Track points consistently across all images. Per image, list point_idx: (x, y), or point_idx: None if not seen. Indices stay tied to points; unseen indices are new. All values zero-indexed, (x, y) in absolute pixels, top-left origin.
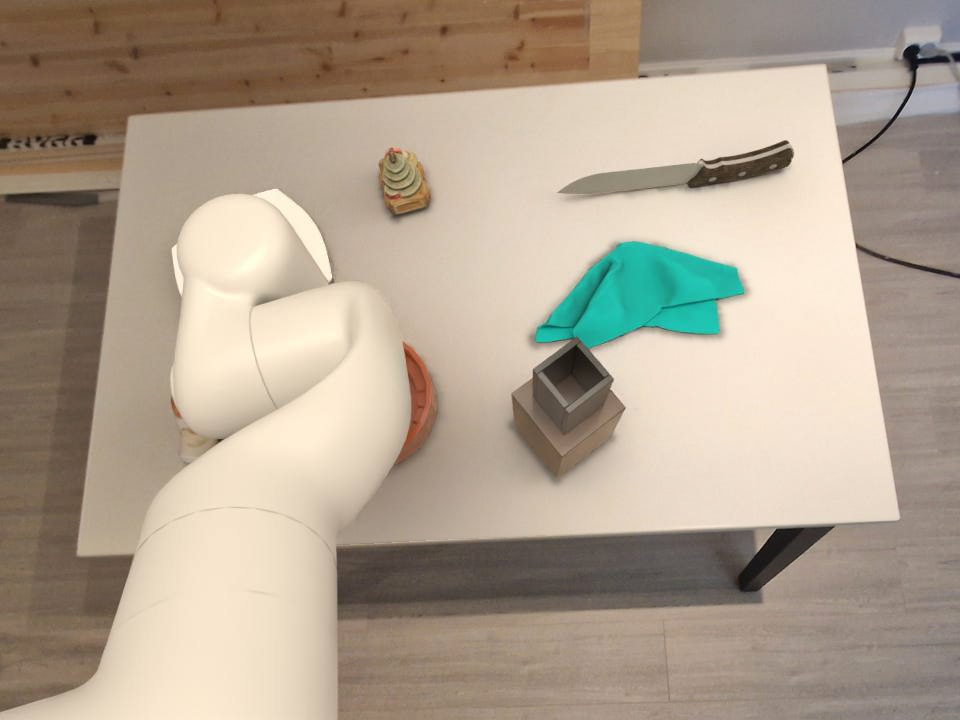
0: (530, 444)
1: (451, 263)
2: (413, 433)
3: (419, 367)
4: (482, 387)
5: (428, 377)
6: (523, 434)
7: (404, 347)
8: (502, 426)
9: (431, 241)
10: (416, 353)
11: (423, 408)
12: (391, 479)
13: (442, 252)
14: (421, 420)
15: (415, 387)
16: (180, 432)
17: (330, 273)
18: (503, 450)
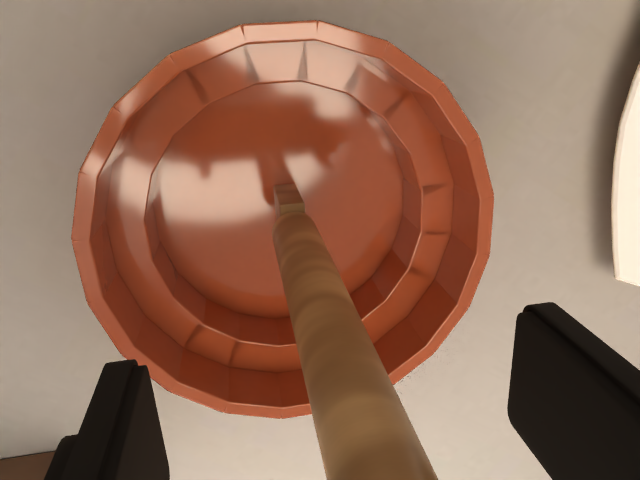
0: (4, 464)
1: (459, 471)
2: (108, 318)
3: (293, 373)
4: (188, 425)
5: (242, 413)
6: (28, 469)
7: None
8: (80, 426)
9: (521, 458)
10: None
11: (189, 336)
12: (77, 148)
13: (489, 466)
14: (135, 352)
15: (267, 314)
16: None
17: (627, 280)
18: (23, 407)
